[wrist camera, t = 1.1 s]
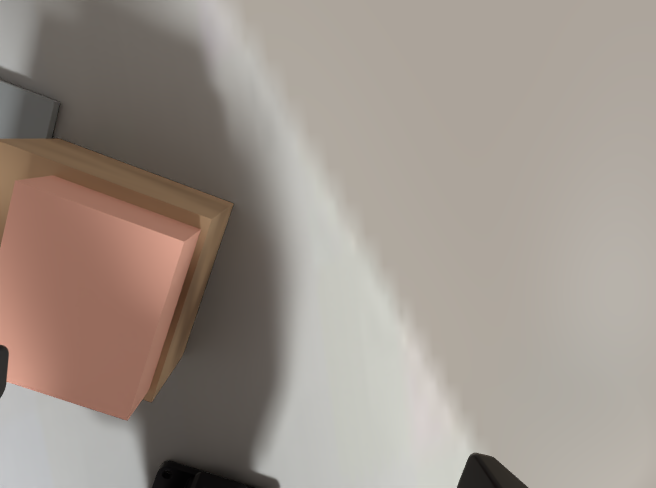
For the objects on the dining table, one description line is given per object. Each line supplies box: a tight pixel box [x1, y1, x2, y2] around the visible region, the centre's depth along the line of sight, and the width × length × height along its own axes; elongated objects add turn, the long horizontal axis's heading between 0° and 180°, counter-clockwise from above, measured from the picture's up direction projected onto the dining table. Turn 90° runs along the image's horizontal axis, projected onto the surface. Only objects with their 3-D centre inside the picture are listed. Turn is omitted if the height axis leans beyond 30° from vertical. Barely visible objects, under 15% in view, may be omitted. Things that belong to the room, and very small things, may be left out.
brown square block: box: [0, 138, 234, 402], centre depth 19 cm, size 8×8×4 cm
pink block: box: [0, 175, 201, 421], centre depth 16 cm, size 7×6×2 cm
